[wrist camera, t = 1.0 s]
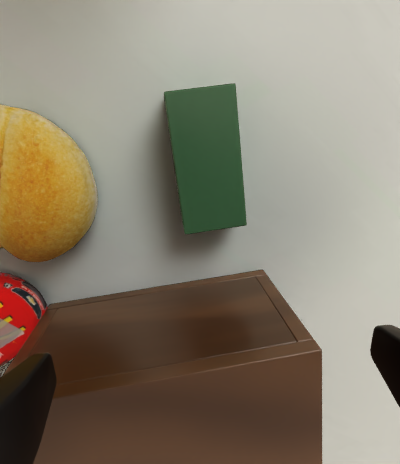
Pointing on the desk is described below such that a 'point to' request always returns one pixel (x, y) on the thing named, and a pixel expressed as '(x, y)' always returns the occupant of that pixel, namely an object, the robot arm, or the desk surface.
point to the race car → (17, 314)
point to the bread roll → (42, 187)
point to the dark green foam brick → (207, 157)
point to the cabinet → (181, 377)
